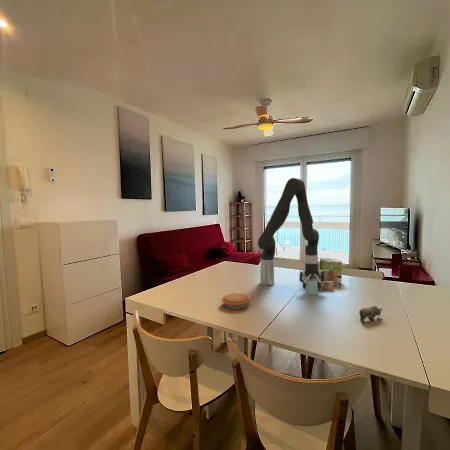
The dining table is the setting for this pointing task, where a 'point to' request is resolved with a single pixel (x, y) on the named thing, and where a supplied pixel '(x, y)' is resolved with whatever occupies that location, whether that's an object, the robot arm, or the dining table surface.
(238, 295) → the pie
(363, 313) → the rhino figurine
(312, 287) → the tall sage green box
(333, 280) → the wooden stand
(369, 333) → the dining table surface
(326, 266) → the tea box
